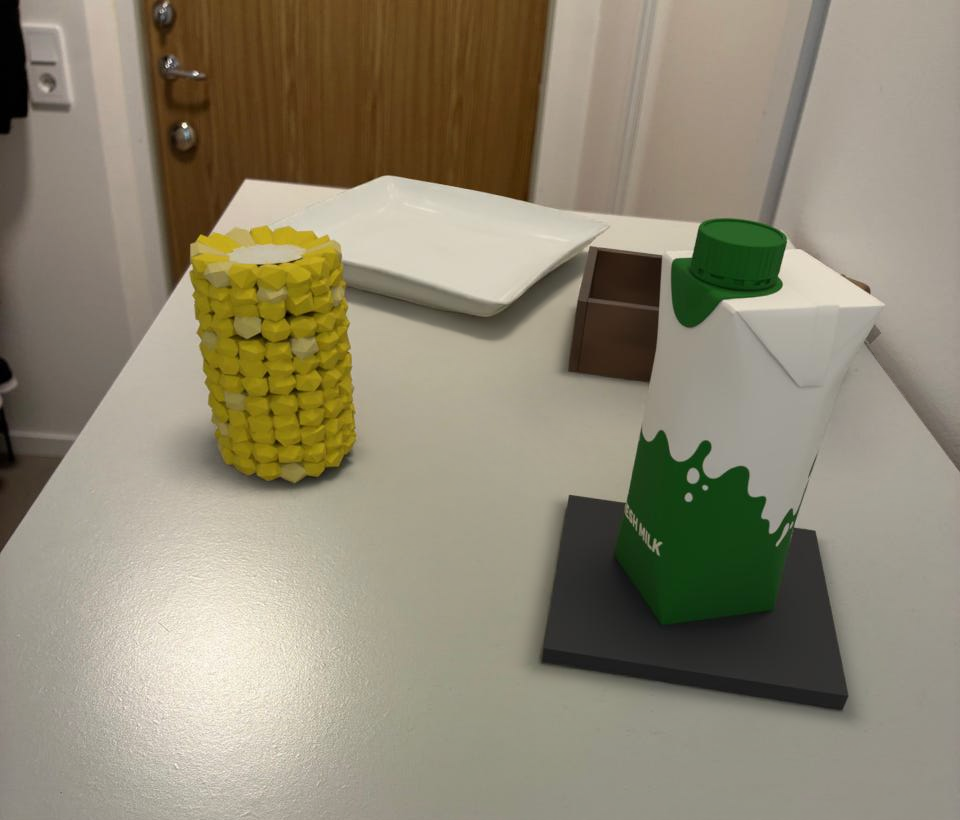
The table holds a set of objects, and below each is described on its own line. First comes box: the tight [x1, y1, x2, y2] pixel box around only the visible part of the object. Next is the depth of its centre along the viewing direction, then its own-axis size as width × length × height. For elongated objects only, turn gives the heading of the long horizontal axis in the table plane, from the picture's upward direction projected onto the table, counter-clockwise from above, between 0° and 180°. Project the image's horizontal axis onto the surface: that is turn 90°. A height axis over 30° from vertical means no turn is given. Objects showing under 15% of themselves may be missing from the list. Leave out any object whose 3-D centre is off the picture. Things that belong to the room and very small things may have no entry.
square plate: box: [267, 174, 611, 318], centre depth 97 cm, size 27×27×4 cm
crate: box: [567, 245, 663, 383], centre depth 84 cm, size 14×14×6 cm
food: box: [188, 224, 357, 485], centre depth 63 cm, size 15×12×10 cm
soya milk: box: [614, 217, 886, 625], centre depth 51 cm, size 9×9×20 cm
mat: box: [541, 494, 849, 710], centre depth 58 cm, size 16×16×1 cm
